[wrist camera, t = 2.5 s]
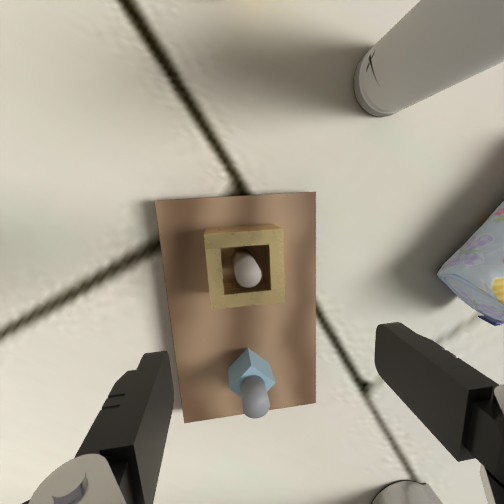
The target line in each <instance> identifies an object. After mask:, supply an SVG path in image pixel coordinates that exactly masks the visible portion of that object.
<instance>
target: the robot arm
mask: <svg viewBox="0 0 504 504" xmlns="http://www.w3.org/2000/svg"><path fill="white" fill-rule="evenodd" d="M375 366H376V369H377V371H378V373H379V375H380V376H381V378H382V379H383V380H384V381H385V382H386V383H387V384H388V385H389V387H390V388H391V389H392V390H393V391H394V392H395V393H396V394H397V395H398V396H399V397H400V399H401V400H402V401H403V402H404V403H405V404H406V405H407V406H408V407H409V408H410V410H411V411H412V412H413V413H414V414H415V415H416V416H417V417H418V418H419V419H420V420H421V422H422V423H423V424H424V425H425V426H426V427H427V428H428V429H429V430H430V431H431V433H432V434H433V435H434V436H435V437H436V438H437V439H438V440H439V441H440V442H441V444H442V445H443V446H444V447H445V448H446V449H447V450H448V451H449V452H450V453H451V454H452V456H453V457H454V458H455V459H456V460H457V461H458V462H459V461H464V460H469V459H474V458H476V459H477V460H478V461H479V462H480V463H481V468H480V476H481V480H482V483H483V487H484V490H485V494H486V498H487V501H488V504H504V385H499V384H497V383H496V382H494V381H493V380H491V379H490V378H488V377H486V376H485V375H483V374H482V373H480V372H479V371H477V370H476V369H474V368H473V367H471V366H470V365H468V364H467V363H465V362H464V361H462V360H461V359H459V358H456V356H455V355H453V354H452V353H450V352H449V351H447V350H446V351H445V349H444V348H443V347H441V346H440V345H438V344H437V343H435V342H434V341H432V340H430V339H428V338H426V337H423V336H421V335H419V334H416V333H415V332H413V331H412V330H411V329H409V328H408V327H406V326H405V325H403V324H402V323H400V322H395V323H387V324H380V325H378V326H377V329H376V341H375ZM173 401H174V391H173V383H172V376H171V369H170V362H169V355H168V352H167V351H161V352H153V353H145V354H144V355H143V357H142V359H141V361H140V363H139V365H138V368H137V370H131V371H127V372H126V373H125V374H124V375H123V376H122V377H121V378H120V379H119V380H118V381H117V382H116V383H115V384H114V386H113V388H112V390H111V392H110V393H109V395H108V399H106V401H105V403H104V404H103V406H102V410H100V412H99V414H98V415H97V417H96V419H95V421H94V423H93V425H92V426H91V428H90V430H89V432H88V434H87V436H86V437H85V439H84V441H83V443H82V445H81V447H80V448H79V450H78V452H77V454H76V456H75V458H74V459H72V460H70V461H68V462H66V463H64V464H63V465H61V466H60V467H58V468H57V469H56V470H55V471H53V472H52V473H51V474H50V475H49V476H48V477H47V478H46V479H45V480H44V481H43V482H42V483H41V484H40V485H39V487H38V488H37V490H36V491H35V492H34V494H33V496H32V497H31V499H30V500H28V501H26V502H24V503H22V504H153V500H154V496H155V491H156V486H157V481H158V476H159V472H160V467H161V462H162V457H163V452H164V448H165V443H166V438H167V433H168V428H169V424H170V419H171V414H172V409H173ZM372 504H443V503H442V502H441V501H440V499H439V498H438V497H437V495H436V494H435V493H434V491H433V490H432V488H431V487H430V486H429V484H425V485H421V484H419V483H417V482H413V481H402V482H397V483H395V484H392V485H390V486H388V487H386V488H385V489H384V490H382V491H381V492H380V493H379V494H378V495H377V496H376V498H375V499H374V501H373V502H372Z"/></svg>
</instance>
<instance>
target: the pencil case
mask: <svg viewBox="0 0 504 504" xmlns="http://www.w3.org/2000/svg"><path fill="white" fill-rule="evenodd" d="M437 276H438V277H439V279H441V280H442V281H443V282H444V283H445V284H446V285H447V286H448V287H449V288H450V289H451V290H452V291H453V292H454V293H455V294H456V295H457V296H458V297H459V298H460V299H461V300H462V301H464V302H465V303H466V304H467V305H469V306H470V307H472V308H473V309H475V310H476V311H478V312H480V313H482V314H483V315H484V316H478V317H479V318H481V319H483V320H485V321H487V322H488V323H490V324H492V325H494V326H497V325H501V324H503V323H504V201H503V202H502V203H501V204H500V205H499V206H498V207H497V209H496V210H495V211H494V212H493V213H492V214H491V215H490V216H489V218H488V219H487V220H486V222H485V223H484V224H483V225H482V226H481V227H480V228H479V229H478V230H477V231H476V232H475V233H474V234H473V235H472V236H471V237H470V238H469V239H468V240H467V241H466V243H465V244H464V245H463V246H462V247H461V248H459V249H458V250H457V251H456V252H455V253H454V254H453V255H452V256H451V257H450V258H449V259H448V260H447V261H446V262H445V263H444V264H443V266H442V267H441V269H440V270H439V271H438V273H437Z"/></svg>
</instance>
